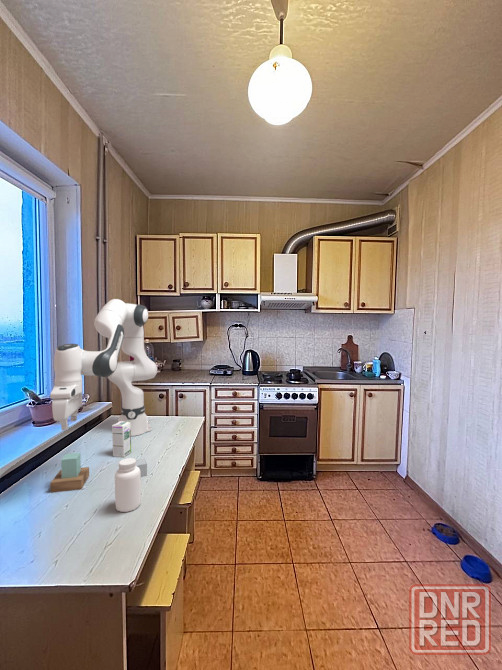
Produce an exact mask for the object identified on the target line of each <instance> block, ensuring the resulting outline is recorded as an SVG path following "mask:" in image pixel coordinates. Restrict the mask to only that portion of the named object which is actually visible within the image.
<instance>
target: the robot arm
mask: <svg viewBox="0 0 502 670" xmlns="http://www.w3.org/2000/svg"><path fill="white" fill-rule="evenodd" d="M148 319H149V309H148V308H147V307H146V305H143V304H135V303H128V302H127V303H125V302H124V301H123V300H121V299H118V298H112V299H110V300H108V302H107V303H105V304H104V305H103V307H102V308H101V309H100V310H99V312H98V313H97V314H96V316H95V318H94V322H93V324H94V328H95V331H97V333H98V334H100V335H101V336H102V337H104V338H108V339H109V340H108V343H107V345H106V348H105V349H104V350H99V351H97V350H96V351H94V350H93V351H92V350H91V351H89V350H84V349H83V348H80V345H79V344H77V343H65V344H61V345H59V346H57V347H56V349H55V351H54V358H53V359H54V361H53V369H54V373H55V378H54V385H53V388H52V390H51V392H50V394H49V397H50V400H51V399H52V401H51V408H52V409H51V410H52V411H51V412H52V418H53V421H55V422H59V423H60V426H61V431H67V430H68V429H69V423H68V418H69V417H70V422H76V421H77V420H78V412H79V409H80V408H81V406H82V405H83V376H86V377H87V376H90V377H91V376H92V377H102V378H107V379H108V380H109V381H110V382H112V383H113V384H114V385H116V387H118V389H119V391H120V394H121V404H122V405H121V412H120V413H121V415H120V416H119V417H118V422H120V421H127V422H130V425H131V437H135V436H139V435H140V436H141V435H143V434H145V433H147V432H151V431H152V426H151V424H150V422H149V421H148V415H147V414H146V412H145V411H146V407H145V404H144V403H145V400H144V399H145V398H144V397H145V396H144V390H143V389H142V388H140V387H137V386H135V385H133V382H138V381H139V382H140V381H147V380H151V379H154V378H156V375H157V373H158V366H157V364H156V363H155V361H153V360H152V359H150V358H149V357H148V356H147V353H146V351H145V339H144V338H145V333H144V325H146V323H147V322H148ZM121 350H122V352H123V353H124V354H126V355H128V356H130V357H132V358H133V360H130V361H129V360H128V361H127V360H126V361H125V360H124V361H118V360H119V356H120V353H121ZM118 422H117V423H118Z"/></svg>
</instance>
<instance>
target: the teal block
mask: <svg viewBox="0 0 502 670" xmlns="http://www.w3.org/2000/svg"><path fill="white" fill-rule="evenodd" d="M60 462H61V463H60V467H61V469H60V470H61V472H62V479H63V478H72V477H77V476H78V474H79V473H80V471H81V468H82V466H81V465H82V463H81V462H82V461H81V452H73V453H65V454H64V456H62V458H61V460H60Z"/></svg>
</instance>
